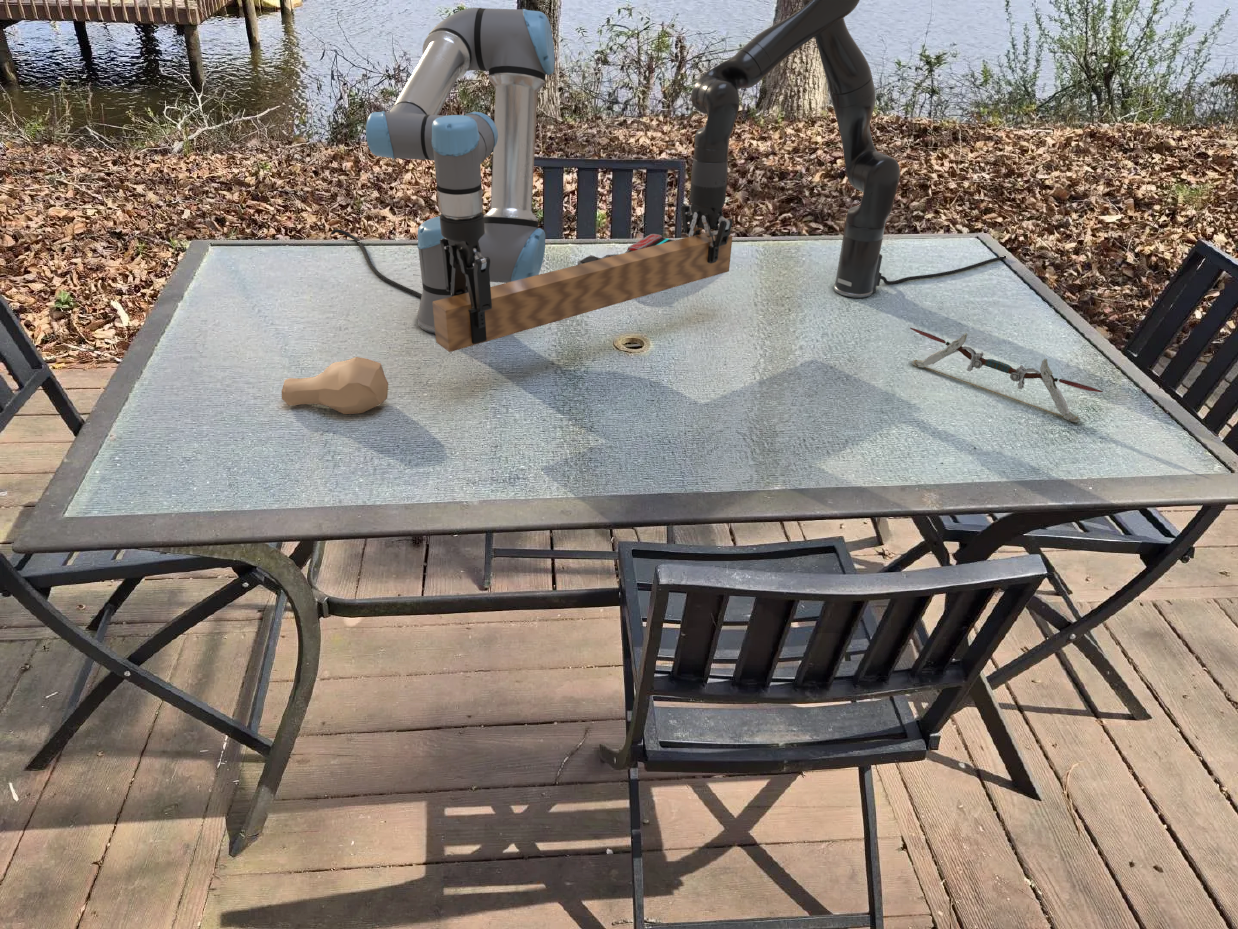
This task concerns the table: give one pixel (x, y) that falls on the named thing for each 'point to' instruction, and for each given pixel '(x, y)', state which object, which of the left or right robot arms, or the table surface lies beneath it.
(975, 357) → the bow
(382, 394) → the squash
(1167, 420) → the table surface
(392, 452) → the table surface
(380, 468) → the table surface
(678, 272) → the post
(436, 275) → the left robot arm
